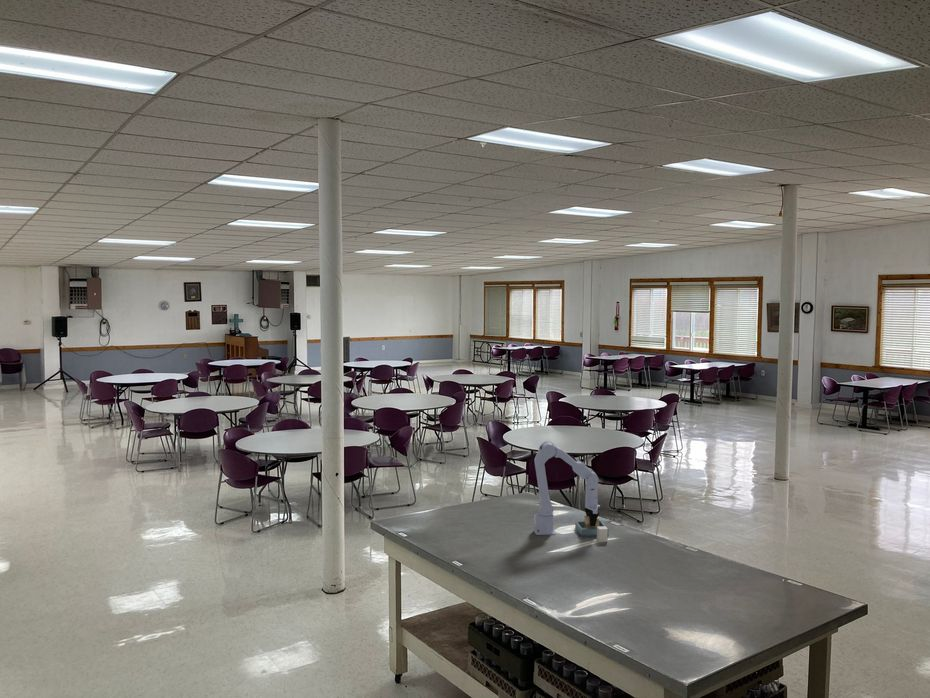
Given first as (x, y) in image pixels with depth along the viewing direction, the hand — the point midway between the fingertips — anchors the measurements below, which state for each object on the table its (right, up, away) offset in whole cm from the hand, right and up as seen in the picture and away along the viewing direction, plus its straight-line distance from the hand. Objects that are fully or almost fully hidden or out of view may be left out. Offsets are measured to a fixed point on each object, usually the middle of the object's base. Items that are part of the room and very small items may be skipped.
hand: (591, 524), depth 329 cm
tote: (0, -4, 0) cm, 4 cm away
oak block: (0, -2, 0) cm, 2 cm away
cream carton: (+3, -5, -12) cm, 13 cm away
